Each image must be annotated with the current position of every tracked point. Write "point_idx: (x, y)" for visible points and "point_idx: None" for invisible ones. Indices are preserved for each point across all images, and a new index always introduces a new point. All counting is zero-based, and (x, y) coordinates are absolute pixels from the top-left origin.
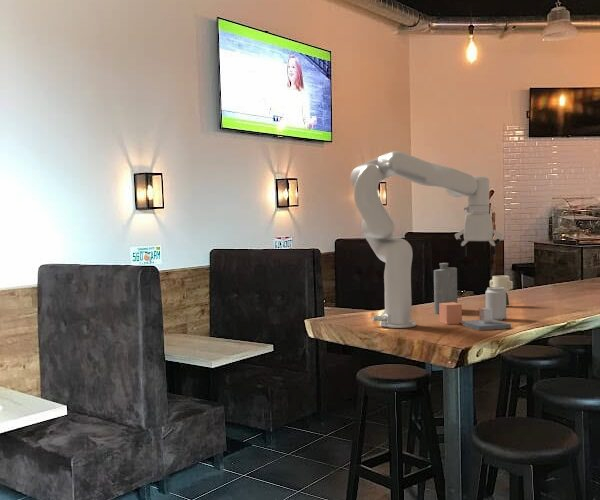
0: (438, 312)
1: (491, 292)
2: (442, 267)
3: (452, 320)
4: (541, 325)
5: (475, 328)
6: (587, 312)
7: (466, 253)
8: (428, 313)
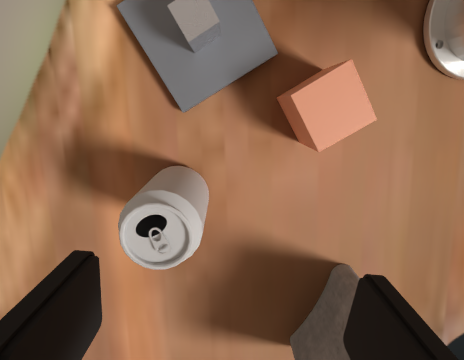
0: (344, 266)
1: (174, 195)
2: None
3: (308, 79)
4: (38, 91)
5: None
6: None
7: (358, 354)
8: (369, 271)
